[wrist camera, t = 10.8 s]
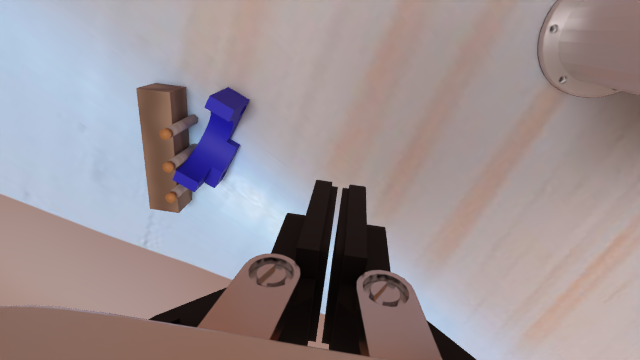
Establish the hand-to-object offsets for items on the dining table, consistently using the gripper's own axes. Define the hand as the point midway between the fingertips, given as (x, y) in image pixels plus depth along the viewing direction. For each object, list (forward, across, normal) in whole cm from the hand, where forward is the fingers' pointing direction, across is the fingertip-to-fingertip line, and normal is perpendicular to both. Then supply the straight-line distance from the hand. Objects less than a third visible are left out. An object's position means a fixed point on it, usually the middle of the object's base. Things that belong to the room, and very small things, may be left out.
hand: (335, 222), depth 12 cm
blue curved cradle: (+32, +16, +9) cm, 37 cm away
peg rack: (+32, +22, +11) cm, 40 cm away
